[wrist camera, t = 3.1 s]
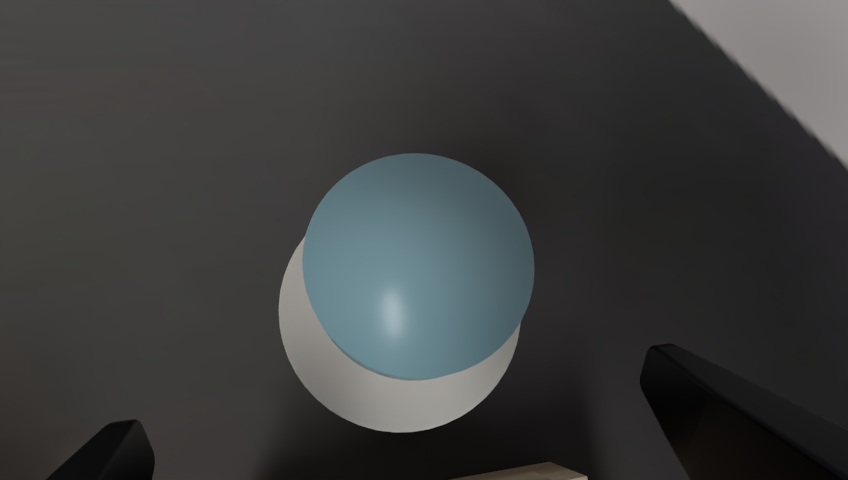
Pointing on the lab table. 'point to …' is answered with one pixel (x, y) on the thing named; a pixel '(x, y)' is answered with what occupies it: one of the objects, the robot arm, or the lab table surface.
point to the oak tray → (530, 473)
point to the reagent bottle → (407, 293)
